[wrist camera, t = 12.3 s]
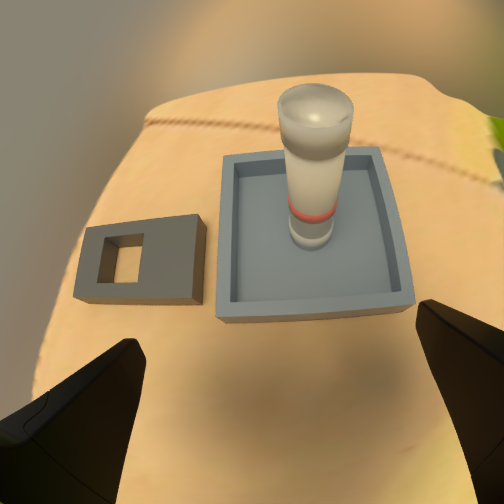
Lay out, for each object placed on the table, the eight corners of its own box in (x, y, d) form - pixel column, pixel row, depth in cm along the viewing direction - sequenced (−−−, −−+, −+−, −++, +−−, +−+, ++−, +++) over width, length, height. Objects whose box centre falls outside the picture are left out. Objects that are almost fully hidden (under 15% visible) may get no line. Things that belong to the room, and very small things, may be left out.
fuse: (333, 249, 22) (362, 128, 11) (291, 252, 23) (280, 132, 11) (328, 212, 24) (344, 82, 12) (288, 214, 24) (274, 85, 12)
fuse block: (202, 305, 23) (191, 297, 21) (88, 303, 25) (72, 297, 23) (206, 227, 26) (197, 213, 24) (99, 238, 28) (86, 227, 25)
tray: (402, 311, 20) (415, 303, 18) (225, 323, 22) (215, 316, 20) (373, 166, 26) (378, 146, 23) (230, 175, 28) (223, 155, 25)
